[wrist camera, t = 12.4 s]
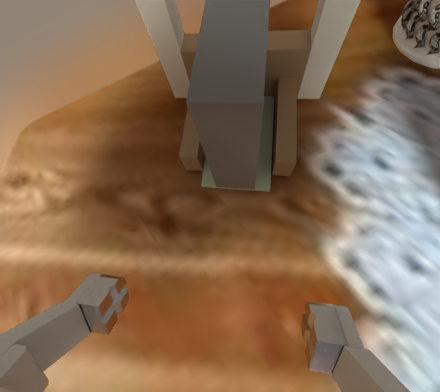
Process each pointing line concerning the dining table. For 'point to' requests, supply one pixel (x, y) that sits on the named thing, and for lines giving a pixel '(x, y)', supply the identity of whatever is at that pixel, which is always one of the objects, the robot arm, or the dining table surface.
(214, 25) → the slate tile
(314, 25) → the shelf
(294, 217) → the dining table surface
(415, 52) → the decorative candle
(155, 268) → the dining table surface
